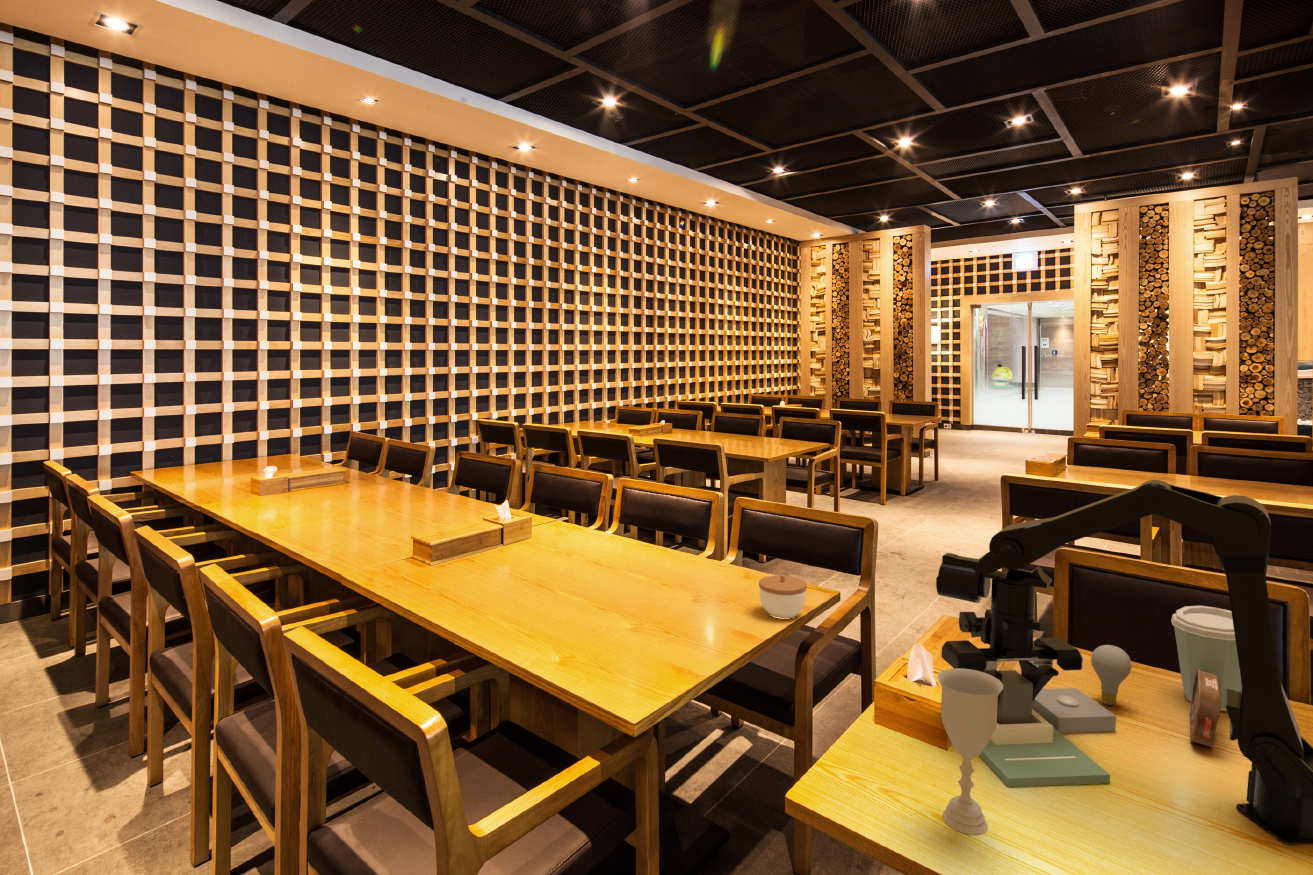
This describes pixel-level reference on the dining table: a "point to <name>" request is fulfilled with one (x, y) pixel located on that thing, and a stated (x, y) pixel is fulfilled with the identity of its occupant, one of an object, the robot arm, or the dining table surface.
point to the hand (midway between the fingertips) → (1008, 709)
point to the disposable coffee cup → (1207, 647)
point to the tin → (1205, 708)
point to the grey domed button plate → (1073, 711)
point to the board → (1039, 756)
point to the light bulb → (1110, 670)
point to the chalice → (968, 736)
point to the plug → (1015, 699)
